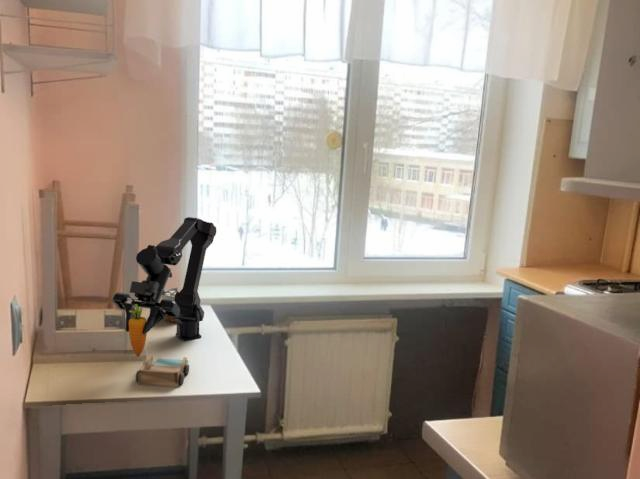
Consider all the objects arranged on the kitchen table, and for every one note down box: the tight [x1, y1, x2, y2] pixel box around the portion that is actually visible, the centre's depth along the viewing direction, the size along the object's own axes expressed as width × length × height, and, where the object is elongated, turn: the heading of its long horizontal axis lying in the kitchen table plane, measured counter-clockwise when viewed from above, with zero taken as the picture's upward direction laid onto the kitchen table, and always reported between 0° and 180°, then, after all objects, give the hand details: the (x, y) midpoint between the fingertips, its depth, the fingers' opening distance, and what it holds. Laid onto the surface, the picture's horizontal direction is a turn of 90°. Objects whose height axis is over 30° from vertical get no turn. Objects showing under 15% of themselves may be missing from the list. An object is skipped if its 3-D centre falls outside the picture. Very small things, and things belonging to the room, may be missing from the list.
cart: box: [135, 354, 190, 388], centre depth 169 cm, size 17×13×4 cm
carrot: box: [128, 304, 147, 358], centre depth 164 cm, size 5×5×15 cm
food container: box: [160, 287, 179, 324], centre depth 211 cm, size 12×6×10 cm, turn 20°
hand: (135, 332), depth 163 cm, fingers closed on carrot, 5 cm apart
